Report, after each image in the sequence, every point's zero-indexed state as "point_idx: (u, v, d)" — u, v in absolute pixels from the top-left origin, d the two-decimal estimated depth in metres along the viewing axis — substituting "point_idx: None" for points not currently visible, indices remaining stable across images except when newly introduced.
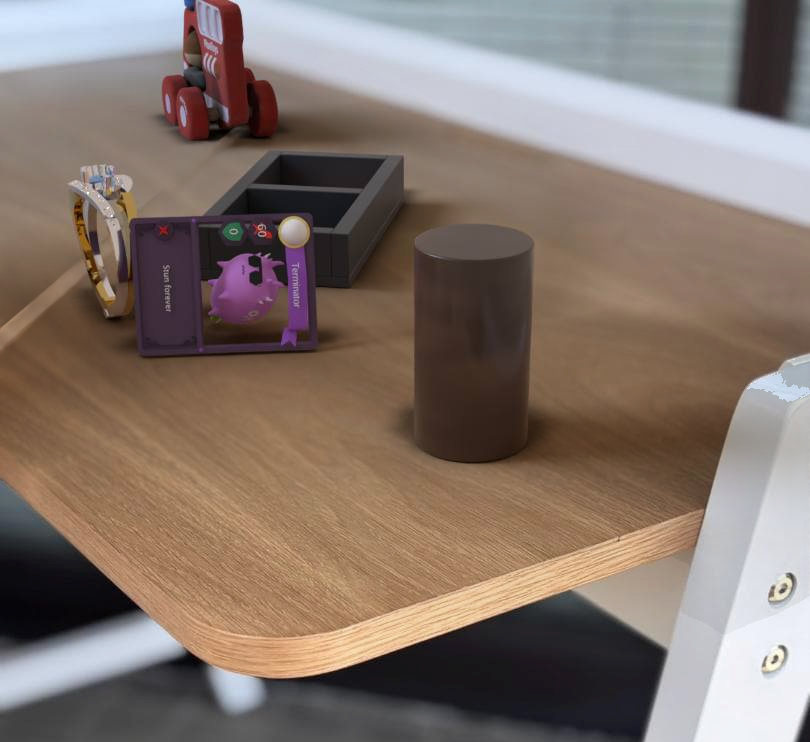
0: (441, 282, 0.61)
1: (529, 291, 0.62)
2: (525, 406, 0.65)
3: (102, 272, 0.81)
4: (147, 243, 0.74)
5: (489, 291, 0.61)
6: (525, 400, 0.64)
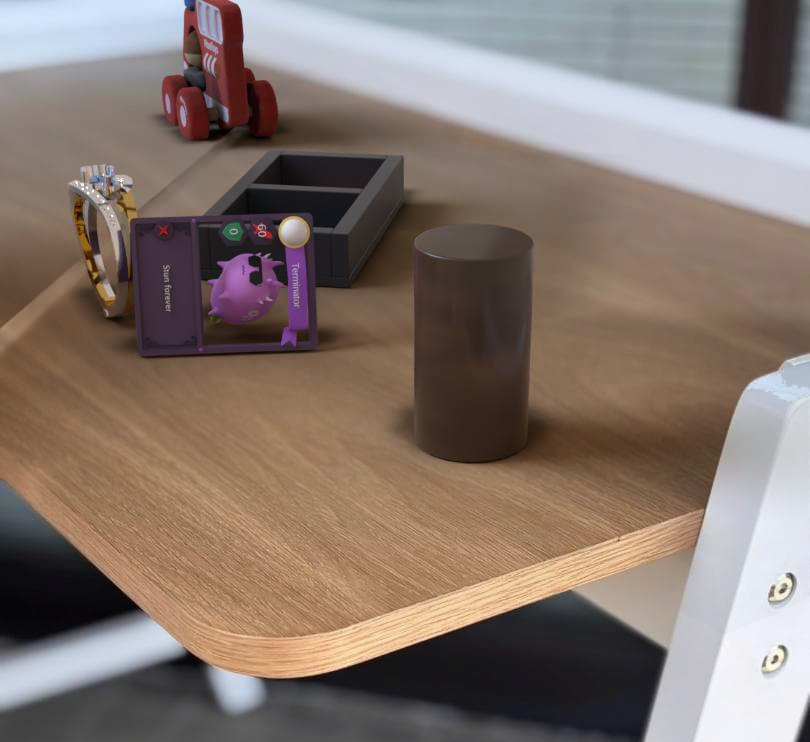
0: (441, 282, 0.61)
1: (529, 291, 0.62)
2: (525, 406, 0.65)
3: (102, 272, 0.81)
4: (147, 243, 0.74)
5: (489, 291, 0.61)
6: (525, 400, 0.64)
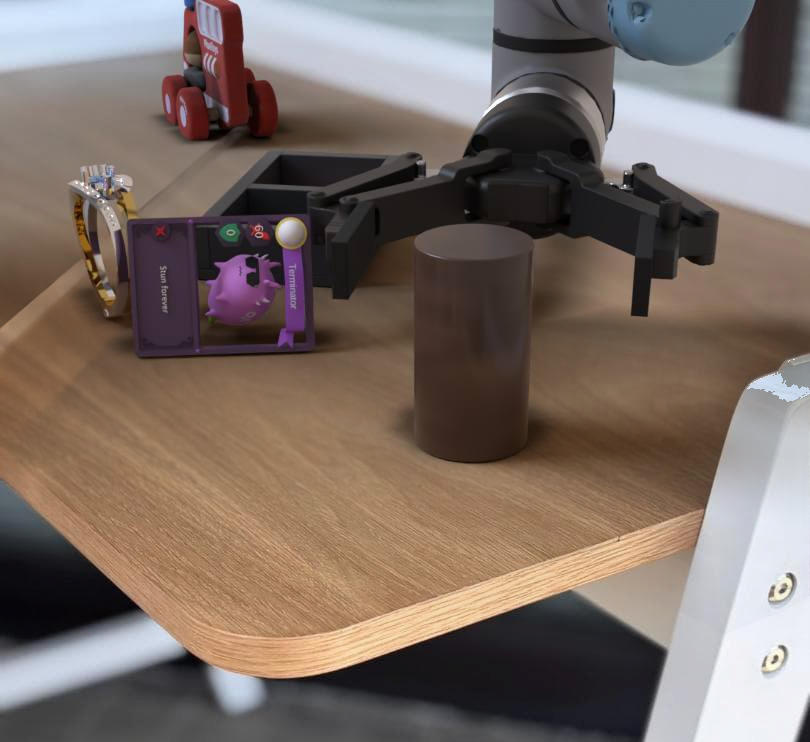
0: (441, 282, 0.61)
1: (529, 291, 0.62)
2: (525, 406, 0.65)
3: (102, 272, 0.81)
4: (144, 244, 0.74)
5: (489, 291, 0.61)
6: (525, 400, 0.64)
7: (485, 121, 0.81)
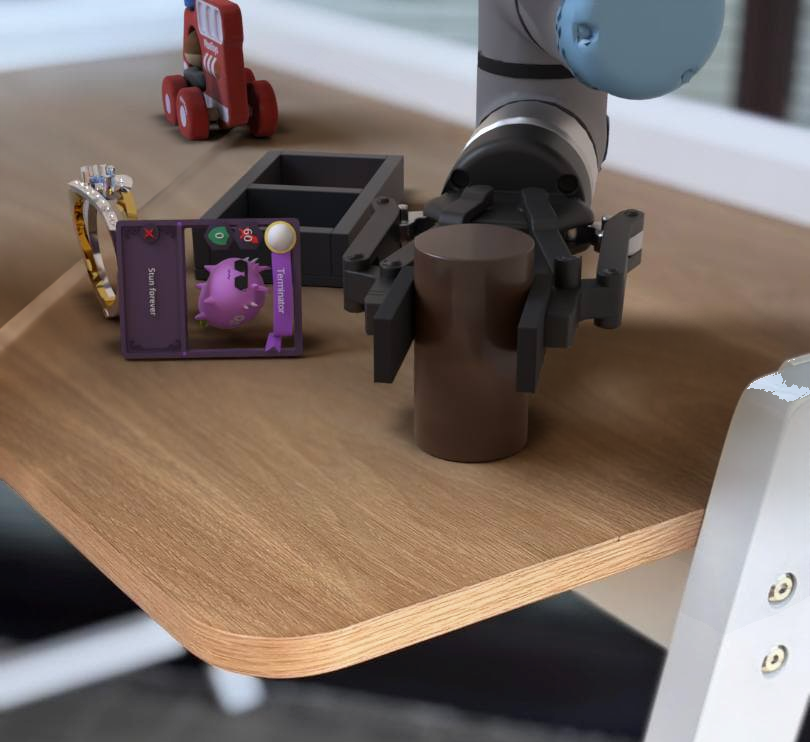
0: (441, 282, 0.61)
1: None
2: (525, 406, 0.65)
3: (102, 272, 0.81)
4: (133, 246, 0.74)
5: (489, 291, 0.61)
6: (525, 400, 0.64)
7: (465, 155, 0.75)
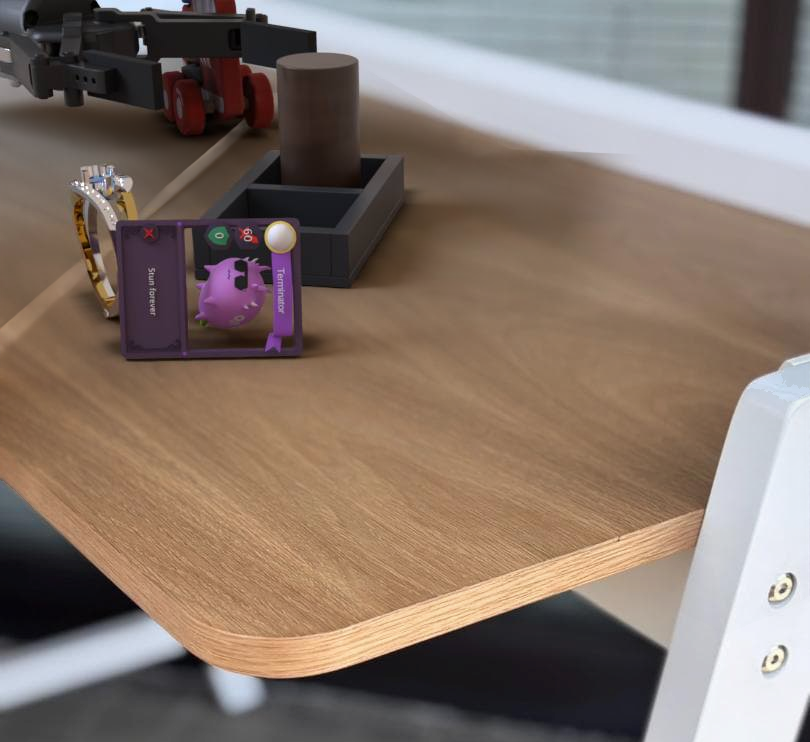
0: (334, 86, 0.89)
1: None
2: None
3: (102, 272, 0.81)
4: (133, 246, 0.74)
5: (356, 85, 0.91)
6: None
7: None
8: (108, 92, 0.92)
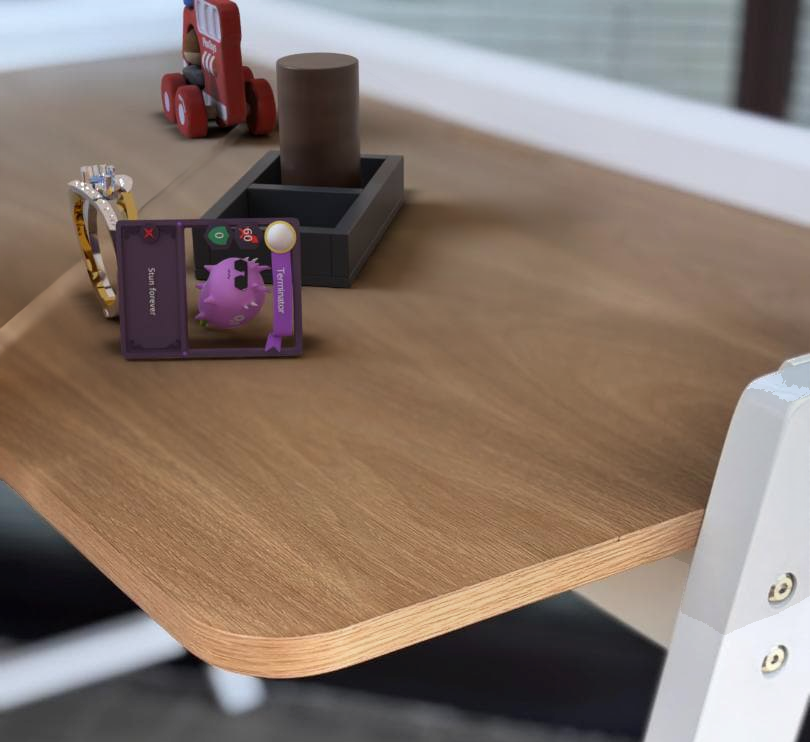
0: (334, 86, 0.89)
1: None
2: None
3: (102, 272, 0.81)
4: (133, 245, 0.74)
5: (356, 85, 0.91)
6: None
7: None
8: None
